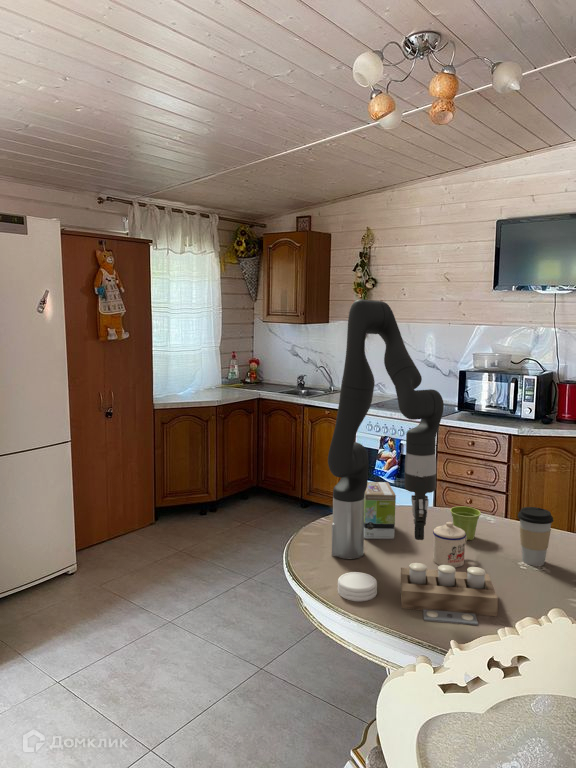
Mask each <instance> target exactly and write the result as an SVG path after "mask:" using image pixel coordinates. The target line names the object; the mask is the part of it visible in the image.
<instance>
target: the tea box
mask: <svg viewBox="0 0 576 768" xmlns="http://www.w3.org/2000/svg"><path fill="white" fill-rule="evenodd" d="M396 496H397V495H396V493H395V491H394V490H393V488H392V487H391V484H390V483H389V482H388V481H387V482H385V481H384V482H383V481H368V482H367V488H366V491H365V493H364V539H373V540H375V539H376V540H386V539H387V540H392V539H395V527H396V525H395V524H396V502H397V500H396Z"/></svg>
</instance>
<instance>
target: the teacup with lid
mask: <svg viewBox="0 0 576 768" xmlns="http://www.w3.org/2000/svg"><path fill="white" fill-rule="evenodd" d="M432 534H433V546H432V547H433V550H432V551H433V552H432V553H433V554H432V556H433V557H432V560H433V563H435V564H437V565H438V566H440V565H450V566H453V567H454V568H455V569H456V568H458V567H459V568H460V567H462V566H463V565H464V564H465V551H466V550H465V549H466V548H465V547H466V544H467V541H468V540H467V537H466V534H465V531H464V530H462V529H460V528H458V527H456V526H454V525H453V521H447V522H445V524H442V525H438V526H436V527H434V529H433V531H432Z"/></svg>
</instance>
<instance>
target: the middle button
mask: <svg viewBox="0 0 576 768" xmlns="http://www.w3.org/2000/svg"><path fill="white" fill-rule="evenodd" d="M437 570H438V584H439V585H440V586H446V587H454V586H455V572H457V570H456V567H455V568H454V567H453V566H450V565H438V567H437Z"/></svg>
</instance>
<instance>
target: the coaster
mask: <svg viewBox="0 0 576 768" xmlns="http://www.w3.org/2000/svg"><path fill="white" fill-rule="evenodd" d="M377 589H378V581H377V579H376V578H375V577H374V576H372V575H371V574H368V573H366V572H361V571H360V572H358V571H351V572H350V571H349V572H346V573H343V574H342V575H340V576H339V577H338V579H337V592H338V595H339V596H340V597H341V598H344V599H345V600H349V601H352V602H367V601H370V600H373V599H374V598H376V596H377V594H378V591H377Z"/></svg>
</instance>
